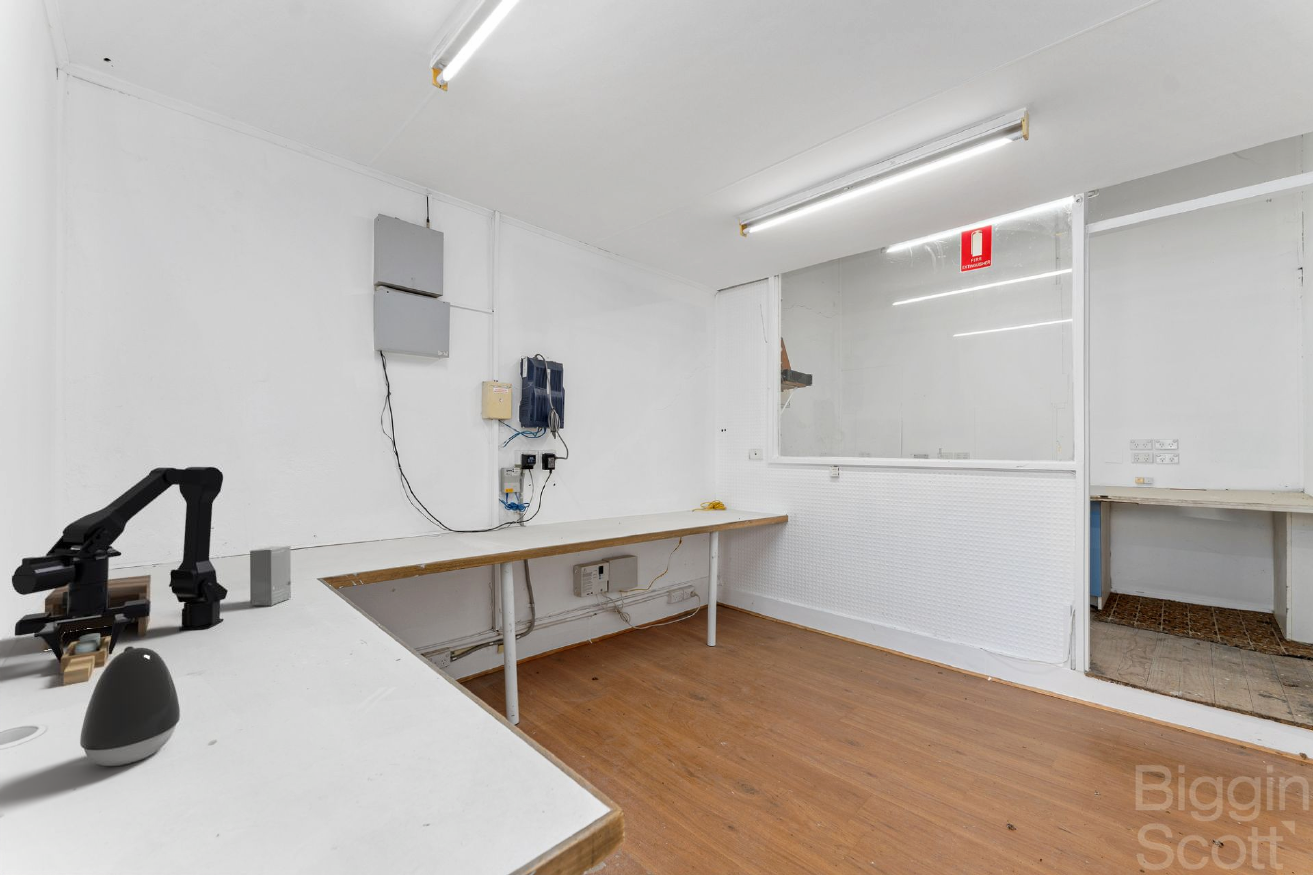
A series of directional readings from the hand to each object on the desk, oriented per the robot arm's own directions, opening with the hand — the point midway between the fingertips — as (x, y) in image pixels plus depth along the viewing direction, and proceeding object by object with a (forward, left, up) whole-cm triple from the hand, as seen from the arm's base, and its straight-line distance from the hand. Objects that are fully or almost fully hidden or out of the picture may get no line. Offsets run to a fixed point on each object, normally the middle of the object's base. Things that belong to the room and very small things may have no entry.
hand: (86, 658), depth 110 cm
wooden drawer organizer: (+11, -20, -1) cm, 23 cm away
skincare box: (-14, -42, -1) cm, 45 cm away
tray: (-1, +2, -1) cm, 3 cm away
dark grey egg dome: (-35, +41, -1) cm, 54 cm away
